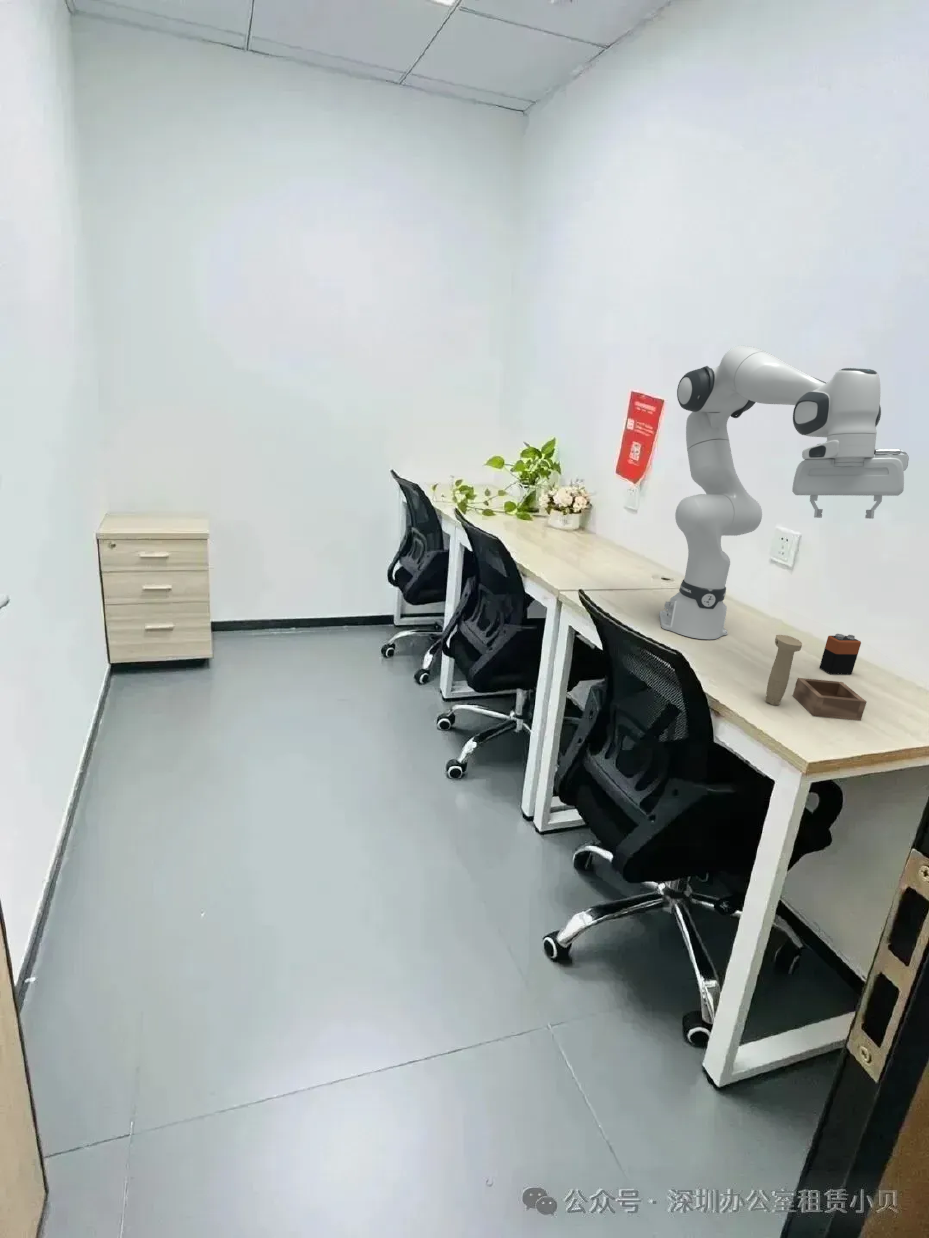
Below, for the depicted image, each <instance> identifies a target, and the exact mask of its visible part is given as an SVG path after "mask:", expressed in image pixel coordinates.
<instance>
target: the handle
mask: <svg viewBox="0 0 929 1238" xmlns="http://www.w3.org/2000/svg"><path fill="white" fill-rule="evenodd" d="M774 645H775V646H776V647H777V651H776V655H775V658H774V661H773V664H772V667H771V670H770V673H769V678H768V681H767V686H766V696H765V703H767V704H770V705H771V706H774V705H775V706H779V705H780V703H781V702H782V699H783V697H784V695H785V693H786V691H787V690H786V689H787V687H788V684H789V680H790V674H791V670H792V669H791V668H792V665H793V664H792V663H793V659H794V655H795V653H796V652H800V651H801V649H802V645H803V642H802V641H800V640H799V639H798V638H795V637H793V636H790V635H785V634H776V635H775V638H774Z"/></svg>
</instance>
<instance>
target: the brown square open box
mask: <svg viewBox="0 0 929 1238" xmlns="http://www.w3.org/2000/svg"><path fill="white" fill-rule="evenodd" d="M792 696H793V698H794V699H795V700H796V701H798V703H799V704H800V705H802V706H803V707H804V708H805V709H806V710H807V711H808V712H809V713H810V714H811V715H812V717H819V718H829V719H830V718H831V719H842V720H851V721H852V720H853V721H862V718H863V714H864V712H865V708H866V705H867V701H866V700H865V699H864V698H863V697H862V696H860V695H859V694H858V693H856V691H854V690H853V689H852V688H850V687H849V686H848V685H847V684H846V683H844V682H843V681H834V680H825V679H824V680H823V679H814V678H803V677H797V678H796V682H795V686H794V689H793V693H792Z"/></svg>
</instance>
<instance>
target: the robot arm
mask: <svg viewBox="0 0 929 1238" xmlns="http://www.w3.org/2000/svg"><path fill="white" fill-rule="evenodd" d="M676 397H677V401H678V404H679V405H680V407H681V408H682V409H683V410H686V411H689V412H690V413H689V415H688V416H687V418H686V425H685V426H686V427H685V442H686V450H687V457H688V465H689V471H690V476H691V478H692V480H693V482H694V483H696V484H697V485H698V486H699V487H701V489H702V490H703V491H704V492H705V493H700V494H693V495H689V496H686V497H684V498H683V499H682V500H680V501H679V503H678V505H677V506H676V509H675V514H674V516H675V519H674V520H675V524H676V525H677V527H678V529H679V530H680V531H681V532H682V533H683V535H684V537H685V539H686V543H687V551H688V553H687V554H688V555H687V563H686V568H685V575H684V579H682V581H681V583H680V585H679V589H678V591H679V592H677V593H676V594H674V595H673V596H672V597H671V598H670V600H669V601H665V603H664V610H660V611H659V614H658V615H659V616H658V617H659V622H660V627H662V629H663V630H666V631H671V632H673V633H675V634H679V635H682V636H684V637H688V638H693V639H699V640H716V639H720V638H721V637H722V636H727V635H728V630H726V628H724V627H725V625H726V624H725V622H726V617H727V611H728V610H727V608H728V607H727V605H726V604H725V603H724V600H725V598H726V593H727V587H726V584H727V581H728V576H729V572H730V571H729V570H730V565H731V558H730V557H729V555H728V554H727V553H726V552H725V551H723V548H722V536H725V537H726V536H734V537H735V536H736V537H737V536H742V535H746V534H749V533H752V532H755V530H757V528H759V526H760V524H761V522H762V519H763V518H762V517H763V511H762V510H763V509H762V506H761V504H760V502H759V501H757V500H756V499H755V498H753V497H752V496H751V495H750V494H749V493H748V492H747V489H745V487H744V485H743V483H742V482H741V480H740V478H739V475H738V473H737V471H736V469H735V465H734V460H733V459H734V458H733V455H732V449H731V444H730V437H729V434H728V422H729V418H730V417H731V418H732V419H738V418H740V417H741V415H742V414H743V413H745V412H746V411H749V410H750V409H752V407H753V406H754V405H755V404H756V403H757V404H764V405H787V406H794V408H793V413H792V423H793V426H794V429H795V430H796V432H797V433H798V434H799V435H802V436H807V437H810V438H811V437H813V438H814V437H815V438H826V441H825V442H822V443H817V444H816V445H812V446H809V447H806V448H804V449H803V451H802V453H801V457H802V459H803V460H802V461H800V462H799V464H798V465H797V467H796V470H795V472H794V477H793V483H792V490H791V491H792V493H793V495H795V496H809V502H810V504H811V506H812V507H813V510H814V515H813V517H814V518H815V519H817V518H818V519H819V518H820V519H821V518H822V517H823V509H822V508H819V507H818V505H817V504H816V503H817V501H818V497H819V496H855V497H857V496H858V497H859V496H862V497H863V496H864V497H865V496H866V497H867V496H871V497H872V496H873V502H875V503H874V505H872V507H871V509H865V517H864V518H865V519H872V520H873V519H875V510H877V508H878V507H879V505H881V503H882V500H883V496H885V497H889V496H893V497H894V496H897V497H898V496H900V495H901V494H902V493H903V492H904V489H905V474H904V472H905V471H906V470H907V468H908V465H909V461H910V460H909V459H910V458H909V455H908V453H907V452H906V451H903V450H901V449H900V448H892V449H885V448H883V449H882V448H881V449H878V448H877V449H876V441H877V426H878V425H879V422H880V420H881V415H882V407H881V380H880V376H879V373H878V372H877V371H876V370H874V369H870V368H854V367H853V368H851V367H845V368H842V369H841V368H840V369H839V370H836V372H835V373H834V375H833V376H832V378H831V379H830V380H828V382H825V381H823V380H820V379H819V378H817V377H814V376H812V375H809V374H808V373H807V372H804V371H802V370H800V369H798V368H796V367H795V366H792V365H791V364H789V363H787V362H786V361H784V360H782V359H780V358H778V357H777V356H775V355H773V354H771V353H770V352H768V351H766V350H763V349H761V348H757V347H755V346H749V345H737V346H733V347H731V348H730V349H728V351H726V353H724V355H723V357H722V358H721V360H720V363H719V365H718V366H716V367H712V368H711V367H710V366H708V365H706V366H703V367H701V368H697V369H693V370H691V371H688V372H687V373H685V374H684V375H683V376H682V378H681V379H680V380H679V382H678V386H677V389H676Z"/></svg>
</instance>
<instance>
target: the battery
mask: <svg viewBox="0 0 929 1238" xmlns="http://www.w3.org/2000/svg"><path fill="white" fill-rule="evenodd" d="M861 644H862V642H861V640H860V639H857V638H856V636H855V635H853V634H847V635H844V634H842V633H836V634H834V635H828V636H827V639H826V643H825V647H824V649H823V653H822V657H821V661H820V665H819V668H820V669H821V670H822V671H824V672H826V673H827V674H828V675H852V674H853V671H854V667H855V664H856V661H857V658H858V655H859V651H860V647H861Z"/></svg>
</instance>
